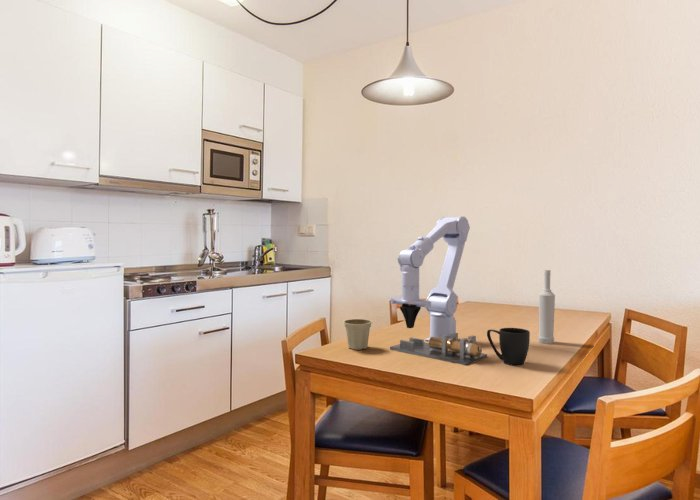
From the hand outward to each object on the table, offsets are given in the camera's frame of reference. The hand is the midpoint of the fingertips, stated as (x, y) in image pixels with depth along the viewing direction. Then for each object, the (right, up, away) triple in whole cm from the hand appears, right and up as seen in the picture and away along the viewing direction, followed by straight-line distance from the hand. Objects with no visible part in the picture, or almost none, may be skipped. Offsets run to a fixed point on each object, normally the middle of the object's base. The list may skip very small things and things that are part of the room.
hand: (410, 327), depth 152 cm
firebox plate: (+7, -7, -7) cm, 12 cm away
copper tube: (+12, -6, -11) cm, 17 cm away
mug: (+26, -7, -17) cm, 32 cm away
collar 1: (+11, -7, -10) cm, 16 cm away
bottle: (+48, -7, +9) cm, 49 cm away
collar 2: (+15, -7, -14) cm, 22 cm away
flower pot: (-17, -7, -1) cm, 18 cm away
